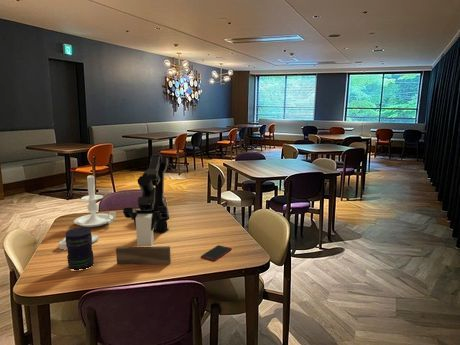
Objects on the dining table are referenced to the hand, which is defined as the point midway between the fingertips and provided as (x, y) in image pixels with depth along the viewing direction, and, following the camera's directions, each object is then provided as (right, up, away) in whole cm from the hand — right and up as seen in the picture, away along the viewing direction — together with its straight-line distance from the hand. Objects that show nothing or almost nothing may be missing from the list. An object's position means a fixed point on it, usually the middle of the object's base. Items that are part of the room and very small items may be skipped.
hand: (144, 230), depth 150 cm
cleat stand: (0, -13, +4) cm, 13 cm away
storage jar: (-25, -15, -3) cm, 29 cm away
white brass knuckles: (-37, -10, +22) cm, 44 cm away
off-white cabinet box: (0, -6, +3) cm, 7 cm away
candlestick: (-37, -5, +48) cm, 61 cm away
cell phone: (+30, -12, +9) cm, 34 cm away
